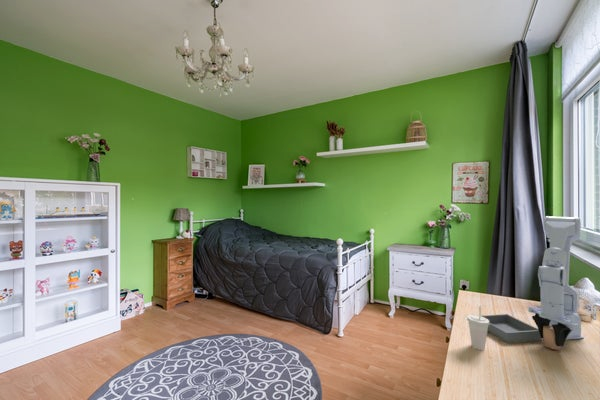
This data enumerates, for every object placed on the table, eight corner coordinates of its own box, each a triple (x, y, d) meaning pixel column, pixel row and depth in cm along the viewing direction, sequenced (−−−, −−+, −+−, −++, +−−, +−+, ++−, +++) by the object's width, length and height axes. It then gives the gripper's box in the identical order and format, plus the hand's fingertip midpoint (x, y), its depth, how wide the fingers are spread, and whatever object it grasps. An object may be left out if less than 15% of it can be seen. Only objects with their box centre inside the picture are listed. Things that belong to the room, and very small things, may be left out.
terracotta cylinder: (550, 342, 94) (550, 324, 94) (564, 349, 90) (564, 331, 90) (539, 343, 93) (539, 325, 93) (552, 350, 89) (552, 331, 89)
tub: (507, 322, 111) (507, 314, 111) (541, 340, 97) (541, 330, 97) (476, 324, 109) (476, 315, 109) (506, 343, 95) (506, 333, 95)
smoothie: (493, 353, 89) (493, 310, 89) (471, 351, 90) (471, 309, 90) (484, 343, 95) (484, 303, 95) (464, 341, 96) (464, 301, 96)
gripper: (521, 294, 98) (521, 331, 98) (565, 311, 84) (565, 354, 84) (538, 293, 99) (538, 330, 99) (584, 309, 85) (584, 353, 85)
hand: (551, 341), depth 92 cm, fingers closed on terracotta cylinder, 4 cm apart
